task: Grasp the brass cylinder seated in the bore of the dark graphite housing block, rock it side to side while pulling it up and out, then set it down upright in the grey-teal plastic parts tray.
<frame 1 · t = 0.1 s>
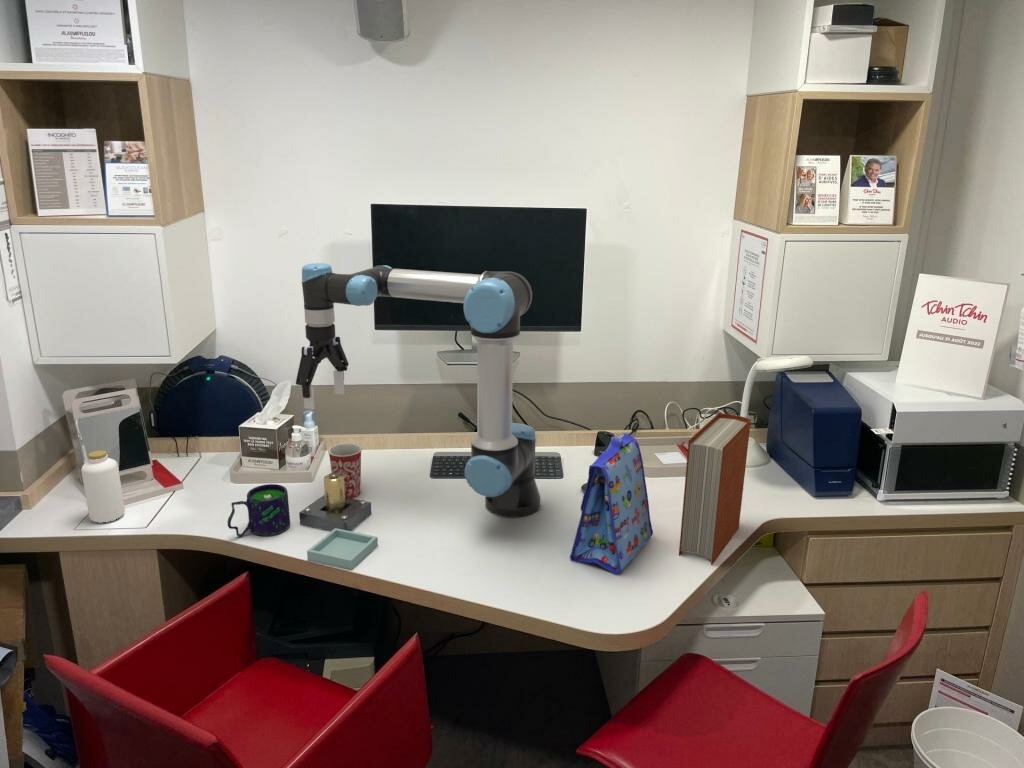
hand: (325, 401, 207), 28 cm above the table, fingers open, 13 cm apart
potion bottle: (107, 517, 202), on the table
housing: (336, 519, 202), on the table
brass cylinder: (336, 519, 202), resting in housing
tray: (343, 552, 186), on the table
mug 2: (259, 530, 196), on the table
book: (710, 541, 194), on the table
mug: (349, 491, 218), on the table
lunch bag: (612, 549, 189), on the table
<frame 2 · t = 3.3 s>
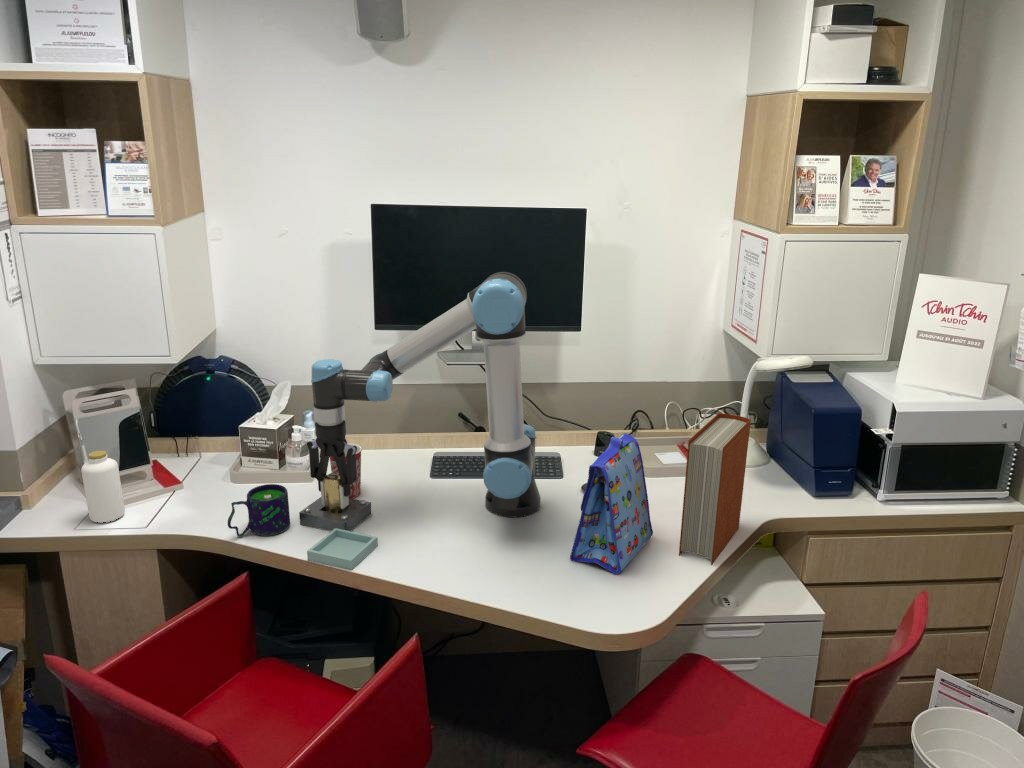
hand: (335, 504, 201), 4 cm above the table, fingers closed on brass cylinder, 5 cm apart
brass cylinder: (336, 519, 202), resting in housing, touching gripper
everything else where it was.
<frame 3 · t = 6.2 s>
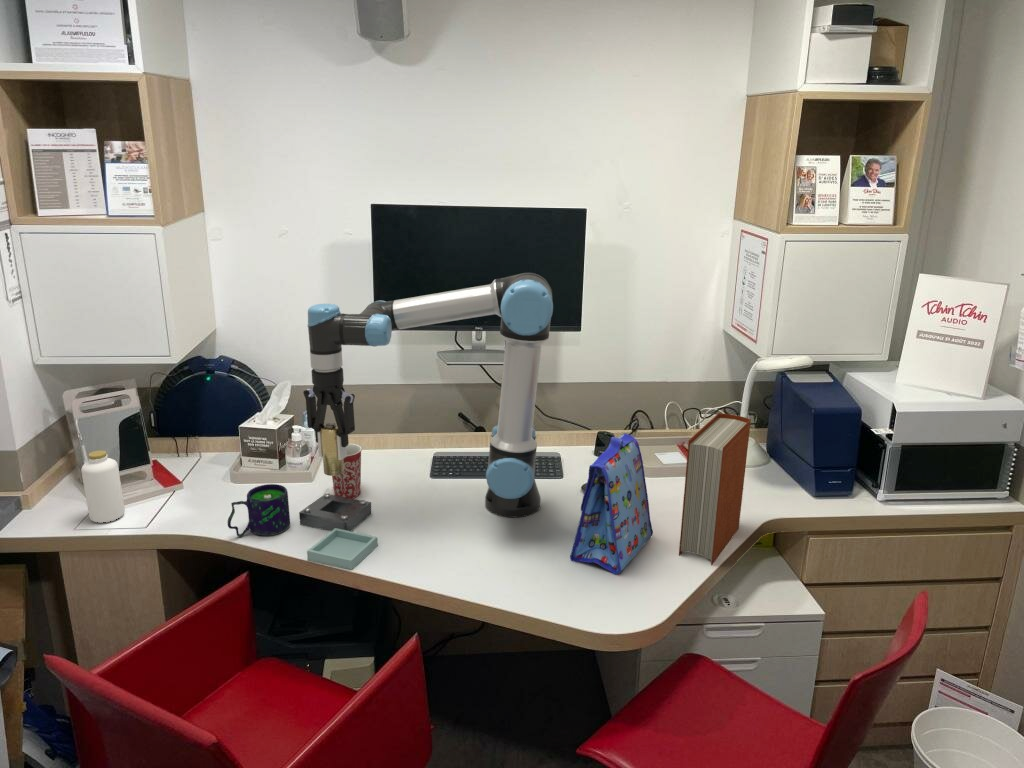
hand: (333, 456, 195), 19 cm above the table, fingers closed on brass cylinder, 5 cm apart
brass cylinder: (334, 471, 196), point 14 cm above the table, touching gripper
everything else where it was.
when the fingers open (6 cm above the table, at t = 9.2 s): brass cylinder drops 1 cm, resting on tray.
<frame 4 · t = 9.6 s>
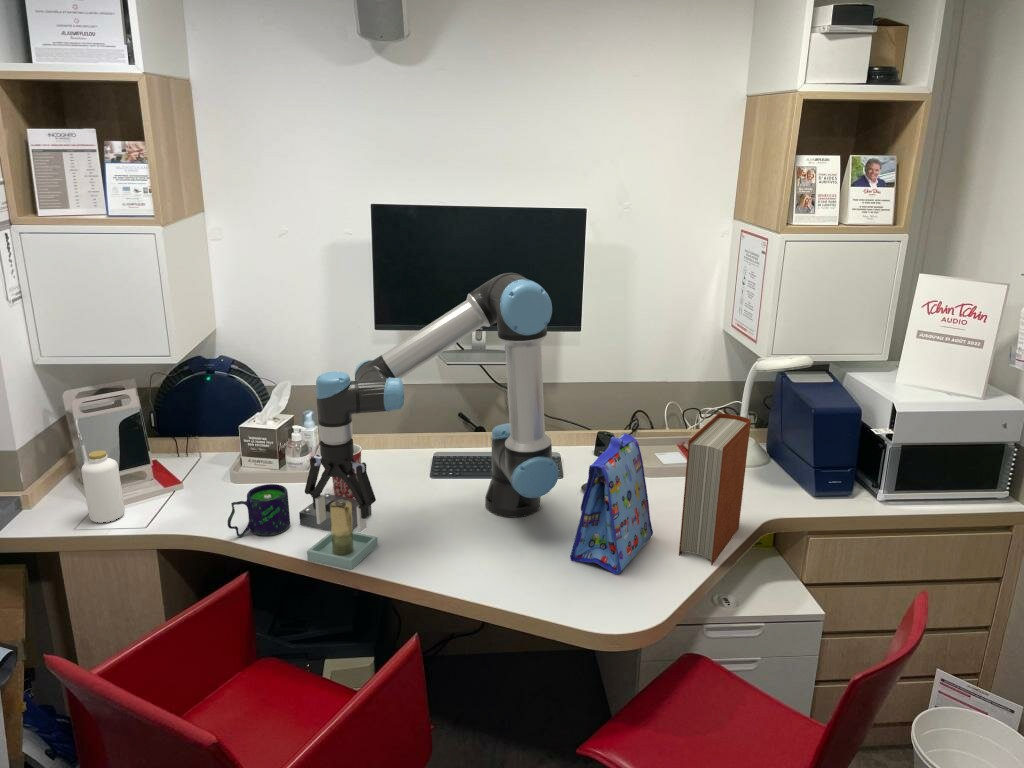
hand: (341, 525, 184), 7 cm above the table, fingers open, 10 cm apart
brass cylinder: (342, 550, 186), point 1 cm above the table, touching tray
everything else where it was.
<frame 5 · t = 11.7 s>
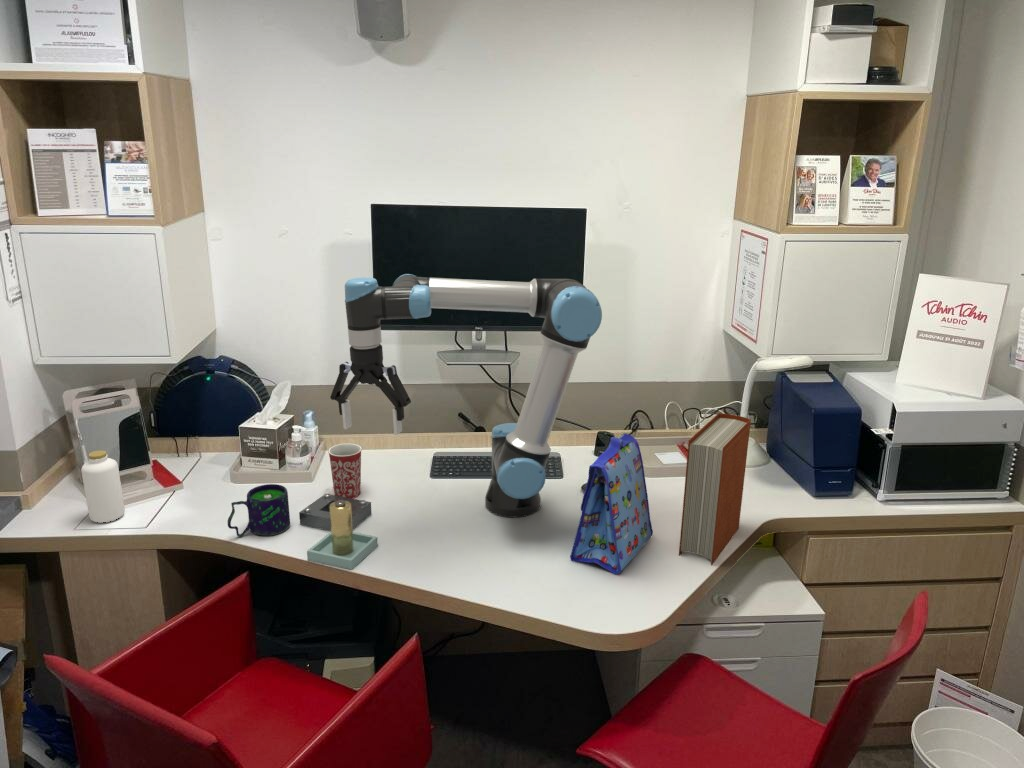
hand: (372, 430, 186), 28 cm above the table, fingers open, 13 cm apart
nothing on the table moved.
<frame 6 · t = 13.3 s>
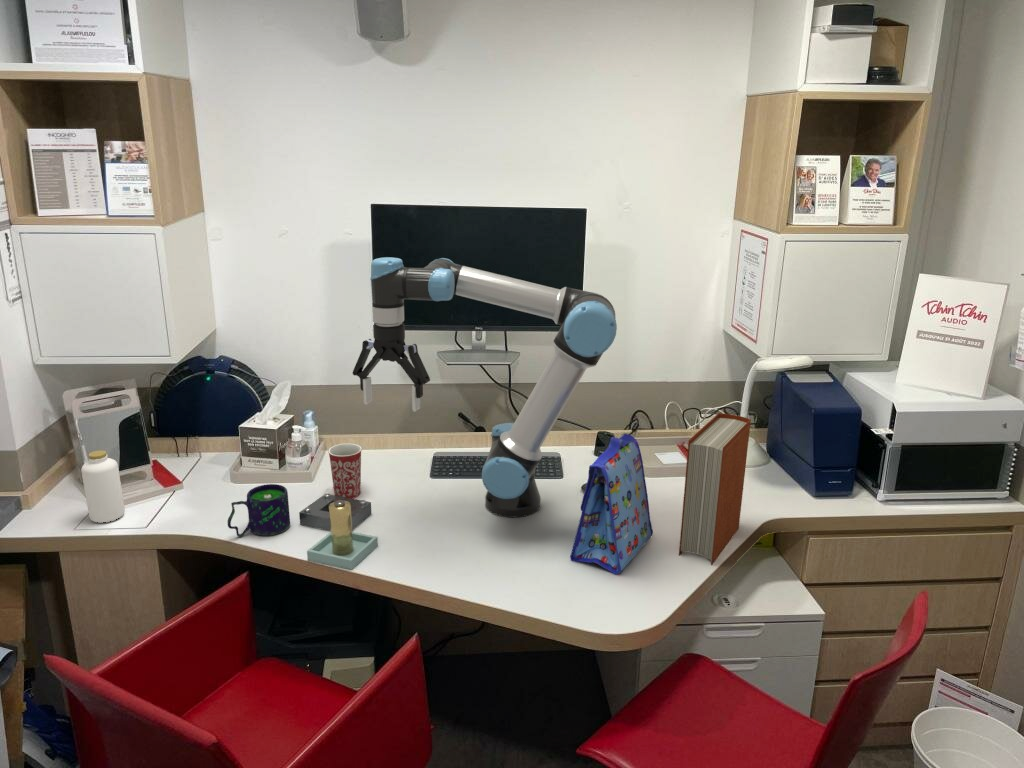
hand: (392, 406, 192), 32 cm above the table, fingers open, 13 cm apart
nothing on the table moved.
at the end: brass cylinder inside the target area on the tray (0.1 cm from its centre), point 0.6 cm above the tray's base; brass cylinder tilted 1°; the gripper is holding nothing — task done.
